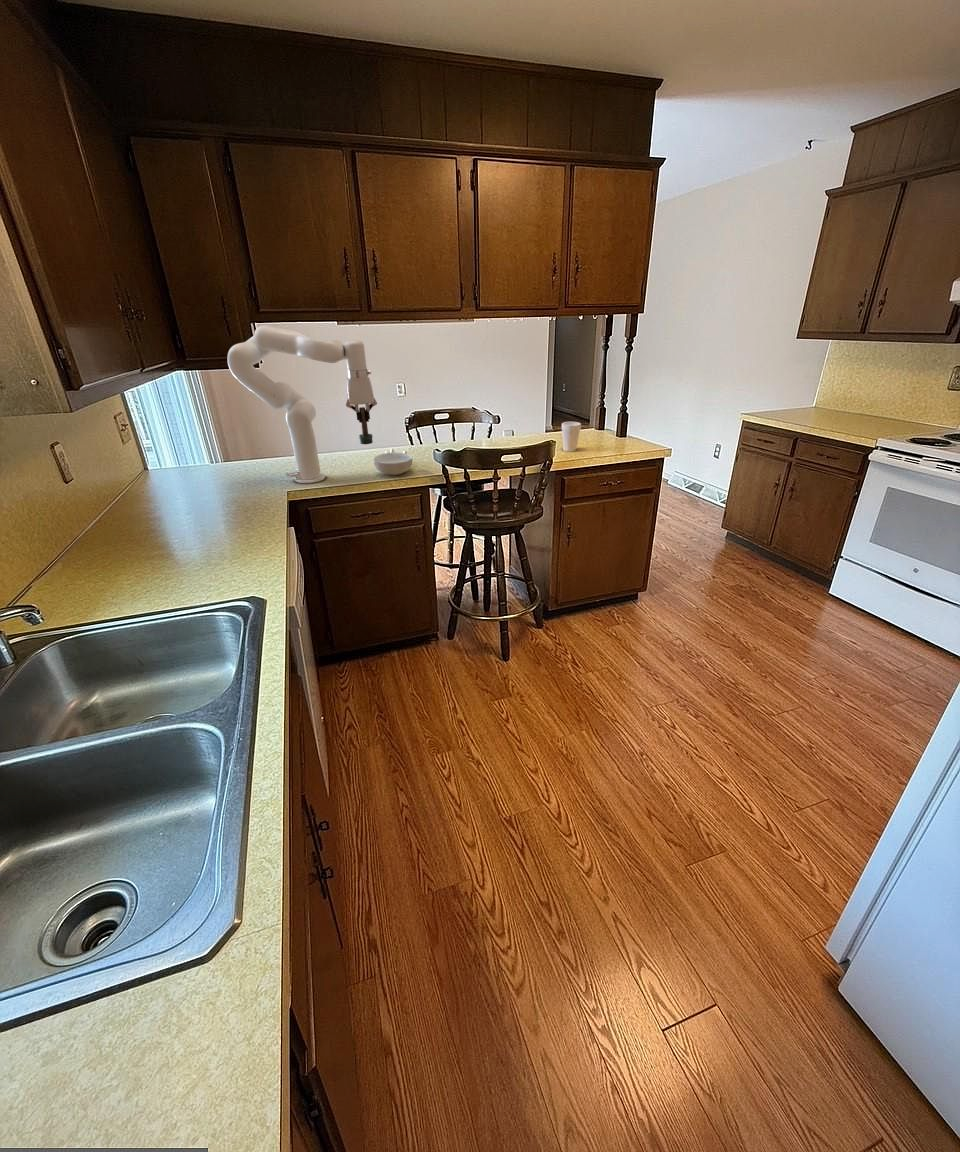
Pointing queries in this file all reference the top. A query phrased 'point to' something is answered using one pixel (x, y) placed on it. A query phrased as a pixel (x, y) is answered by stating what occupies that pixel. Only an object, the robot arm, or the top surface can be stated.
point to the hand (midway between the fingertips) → (363, 421)
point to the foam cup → (570, 435)
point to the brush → (364, 428)
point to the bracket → (394, 452)
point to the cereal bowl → (393, 463)
